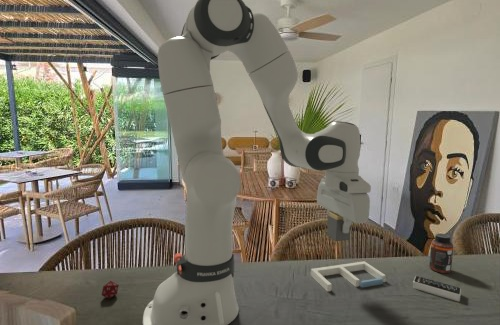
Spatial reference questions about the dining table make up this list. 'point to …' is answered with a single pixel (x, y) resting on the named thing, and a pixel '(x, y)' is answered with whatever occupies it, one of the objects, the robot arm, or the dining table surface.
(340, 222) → the grey tan-topped block
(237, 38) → the robot arm
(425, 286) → the multiport hub
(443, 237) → the supplement bottle
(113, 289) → the dice
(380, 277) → the white e-shaped frame
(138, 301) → the dining table surface
